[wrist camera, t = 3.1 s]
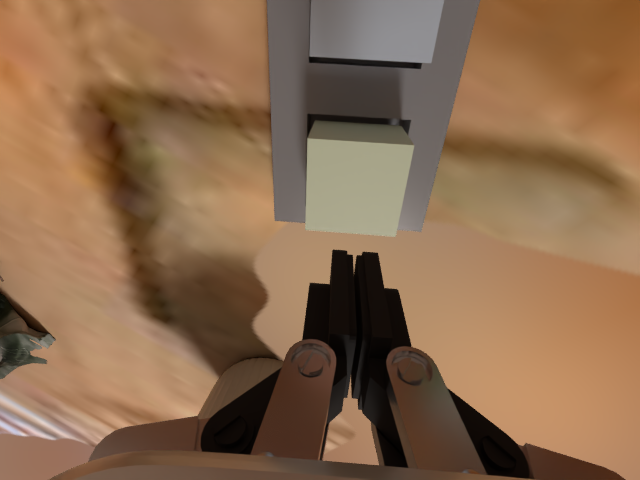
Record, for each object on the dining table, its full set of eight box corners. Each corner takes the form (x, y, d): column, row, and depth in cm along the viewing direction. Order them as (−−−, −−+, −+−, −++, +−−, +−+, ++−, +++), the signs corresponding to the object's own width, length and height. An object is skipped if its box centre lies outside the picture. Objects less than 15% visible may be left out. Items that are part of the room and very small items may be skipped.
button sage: (401, 125, 22) (414, 145, 18) (387, 204, 25) (395, 236, 21) (315, 120, 22) (307, 138, 18) (312, 198, 25) (305, 229, 21)
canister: (298, 321, 36) (251, 589, 18) (357, 405, 44) (364, 648, 27) (177, 356, 41) (50, 592, 24) (250, 426, 50) (196, 641, 32)
